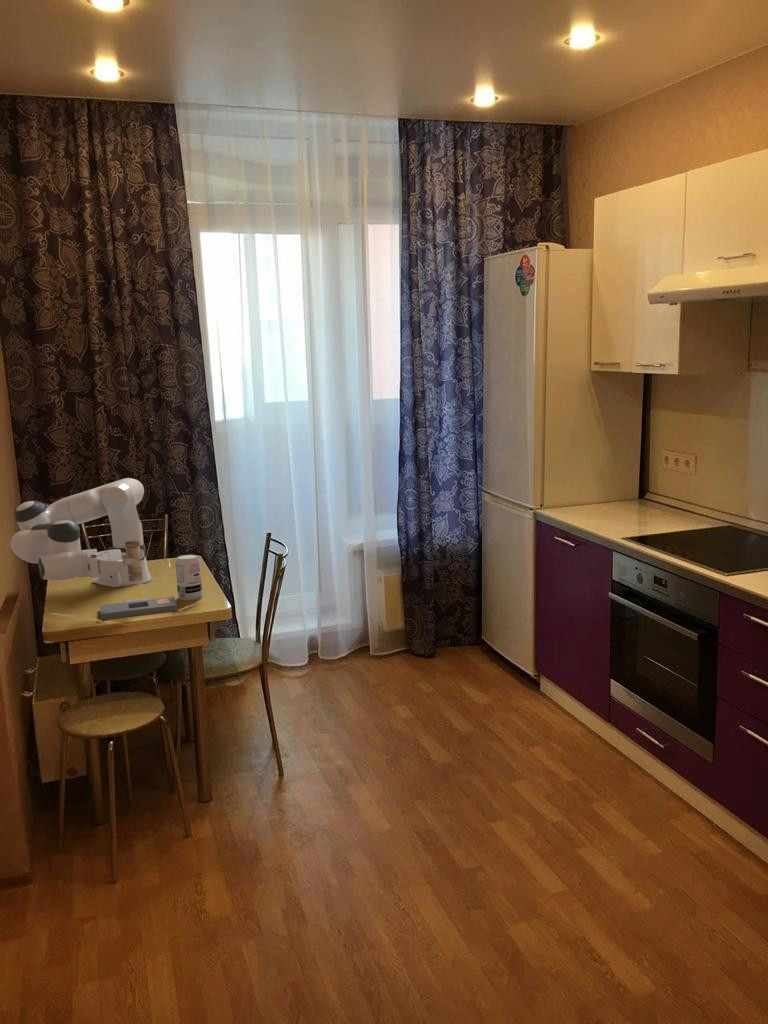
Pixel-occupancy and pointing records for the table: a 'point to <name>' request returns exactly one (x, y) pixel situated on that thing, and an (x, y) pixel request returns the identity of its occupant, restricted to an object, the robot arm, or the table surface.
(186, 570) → the supplement can
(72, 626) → the table surface
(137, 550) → the maple peg
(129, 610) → the socket board
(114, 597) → the table surface
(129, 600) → the pad
